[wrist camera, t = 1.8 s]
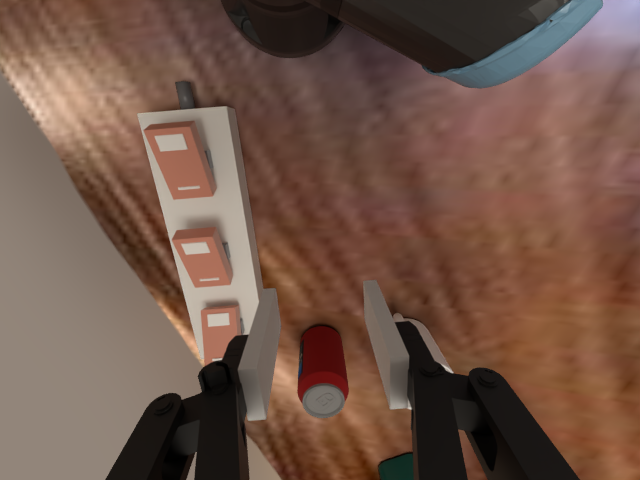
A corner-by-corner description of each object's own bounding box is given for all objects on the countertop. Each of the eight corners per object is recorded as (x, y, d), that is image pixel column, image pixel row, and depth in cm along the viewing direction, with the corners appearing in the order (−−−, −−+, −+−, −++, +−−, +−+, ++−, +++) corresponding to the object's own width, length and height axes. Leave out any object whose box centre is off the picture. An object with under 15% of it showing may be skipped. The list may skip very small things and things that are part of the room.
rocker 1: (150, 124, 31) (142, 130, 29) (194, 120, 31) (189, 127, 29) (178, 191, 36) (173, 200, 35) (216, 188, 36) (212, 197, 34)
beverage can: (291, 339, 49) (285, 401, 37) (322, 315, 47) (326, 372, 36) (319, 363, 51) (321, 430, 39) (349, 341, 49) (361, 403, 38)
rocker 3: (205, 307, 41) (200, 310, 39) (238, 304, 41) (234, 307, 39) (210, 365, 41) (204, 371, 39) (243, 362, 41) (239, 368, 39)
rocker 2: (176, 230, 35) (170, 240, 33) (216, 226, 35) (212, 237, 33) (198, 277, 40) (194, 288, 38) (233, 274, 40) (230, 285, 38)
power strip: (147, 88, 36) (121, 81, 31) (230, 82, 36) (217, 73, 31) (208, 341, 49) (196, 365, 44) (271, 336, 48) (266, 359, 44)
